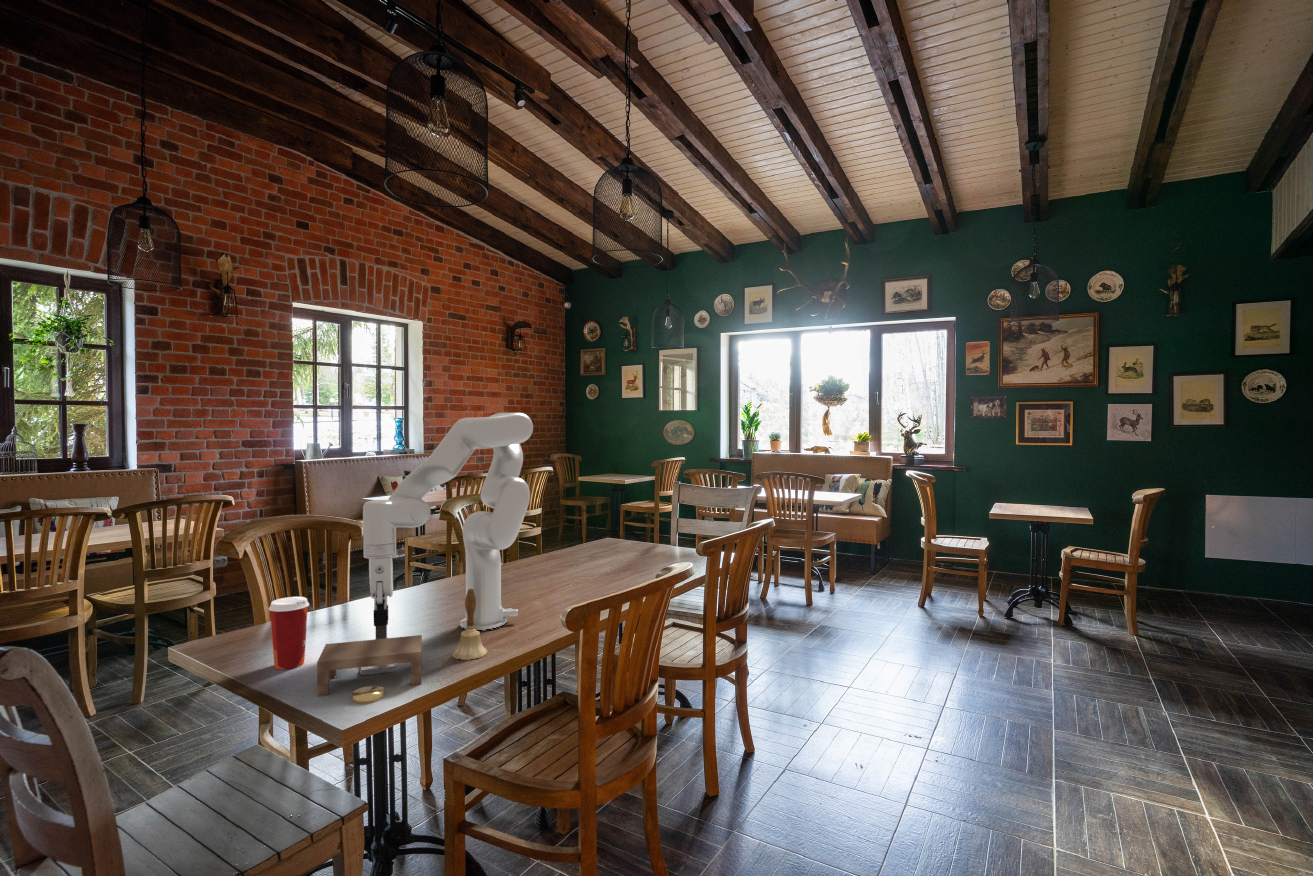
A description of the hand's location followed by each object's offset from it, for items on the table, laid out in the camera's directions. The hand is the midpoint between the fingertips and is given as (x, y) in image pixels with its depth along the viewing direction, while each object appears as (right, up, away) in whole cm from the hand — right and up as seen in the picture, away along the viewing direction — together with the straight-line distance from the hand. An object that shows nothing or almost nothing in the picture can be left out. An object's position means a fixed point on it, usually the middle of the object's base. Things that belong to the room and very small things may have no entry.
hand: (381, 623), depth 163 cm
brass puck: (+10, -7, -30) cm, 32 cm away
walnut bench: (+7, -7, -20) cm, 22 cm away
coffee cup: (-16, -7, -11) cm, 21 cm away
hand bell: (+23, -7, -4) cm, 25 cm away
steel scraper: (+3, -6, -8) cm, 10 cm away
